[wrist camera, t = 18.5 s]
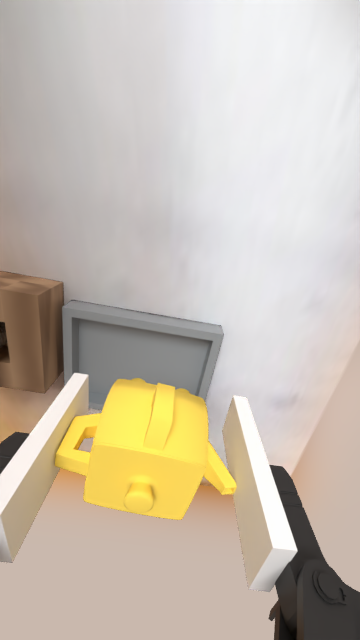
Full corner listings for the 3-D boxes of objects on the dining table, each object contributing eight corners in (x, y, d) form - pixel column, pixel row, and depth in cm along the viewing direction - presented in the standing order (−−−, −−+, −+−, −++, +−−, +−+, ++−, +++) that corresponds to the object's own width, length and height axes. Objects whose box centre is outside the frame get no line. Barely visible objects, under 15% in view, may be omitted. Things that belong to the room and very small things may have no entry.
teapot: (244, 376, 13) (278, 469, 8) (211, 448, 15) (222, 554, 10) (98, 340, 12) (41, 418, 7) (86, 420, 14) (36, 520, 10)
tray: (73, 392, 33) (64, 404, 31) (72, 299, 28) (62, 307, 26) (197, 411, 34) (198, 424, 32) (221, 325, 29) (223, 334, 26)
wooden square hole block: (-27, 353, 31) (-63, 376, 27) (-46, 262, 26) (-94, 272, 22) (65, 367, 32) (44, 393, 27) (63, 282, 27) (37, 295, 22)
